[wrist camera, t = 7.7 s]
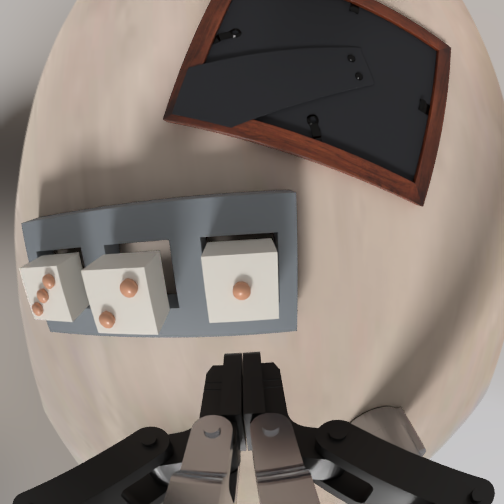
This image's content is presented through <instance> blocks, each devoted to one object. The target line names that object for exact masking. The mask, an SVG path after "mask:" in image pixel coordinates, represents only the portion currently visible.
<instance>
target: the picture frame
mask: <svg viewBox="0 0 504 504" xmlns="http://www.w3.org/2000/svg"><path fill="white" fill-rule="evenodd" d="M450 57H451V47H449V46H448V45H447V44H445V43H444V42H443V41H441V40H440V39H439V38H437V37H436V36H434V35H433V34H431V33H430V32H428V31H427V30H425V29H424V28H422V27H421V26H419V25H418V24H416V23H415V22H413V21H411V20H410V19H408V18H406V17H405V16H403V15H401V14H399V13H398V12H396V11H394V10H392V9H390V8H389V7H387V6H385V5H383V4H381V3H379V2H377V1H375V0H211V1H210V3H209V5H208V7H207V9H206V11H205V13H204V15H203V18H202V20H201V22H200V24H199V26H198V28H197V30H196V33H195V35H194V37H193V40H192V42H191V44H190V47H189V49H188V51H187V54H186V56H185V59H184V61H183V64H182V66H181V69H180V71H179V74H178V77H177V80H176V82H175V85H174V88H173V91H172V93H171V96H170V99H169V102H168V105H167V108H166V111H165V115H164V118H163V120H164V121H166V122H170V123H175V124H180V125H185V126H190V127H194V128H199V129H203V130H207V131H212V132H216V133H220V134H224V135H227V136H231V137H235V138H239V139H242V140H246V141H250V142H253V143H257V144H260V145H263V146H267V147H270V148H273V149H277V150H280V151H283V152H286V153H289V154H292V155H295V156H298V157H301V158H304V159H307V160H310V161H313V162H315V163H318V164H321V165H324V166H326V167H329V168H332V169H335V170H337V171H340V172H342V173H345V174H347V175H350V176H353V177H355V178H357V179H360V180H362V181H365V182H367V183H370V184H372V185H374V186H377V187H379V188H381V189H383V190H386V191H388V192H390V193H392V194H395V195H397V196H399V197H401V198H403V199H405V200H408V201H410V202H412V203H414V204H416V205H419V206H422V207H423V205H424V201H425V198H426V195H427V191H428V187H429V184H430V180H431V176H432V172H433V168H434V164H435V160H436V156H437V151H438V146H439V142H440V136H441V131H442V126H443V120H444V114H445V107H446V100H447V92H448V83H449V72H450Z"/></svg>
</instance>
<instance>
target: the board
mask: <svg viewBox="0 0 504 504" xmlns="http://www.w3.org/2000/svg"><path fill="white" fill-rule="evenodd" d="M21 224H22V230H23V236H24V241H25V246H26V251H27V255H28V260H29V262H31V261H33V260H35V259H36V258H38V257H40V256H42V255H53V254H54V250H57V249H67V248H78V247H81V251H82V256H83V260H84V265H85V267H87V266H88V265H89V264H91V263H92V262H94V261H95V260H96V259H98V258H99V257H101V256H102V255H104V254H118V253H120V250H119V244H122V243H134V242H146V241H158V240H169V243H170V251H171V258H172V265H173V271H174V278H175V284H176V290H177V294H167V297H168V302H169V307H170V311H169V313H168V315H167V317H166V319H165V322H164V324H163V326H162V328H161V330H160V332H159V335H138V334H107V333H98V330H97V327H96V324H95V321H94V317H93V314H92V311H91V307H90V305H89V306H88V307H87V308H86V309H85V310H84V311H83V312H82V313H81V314H80V315H79V316H78V317H77V318H76V319H75V320H74V321H73V322H63V321H49V320H46V321H47V324H48V326H49V329H50V332H59V333H70V334H83V335H98V336H119V337H214V336H236V335H253V334H266V333H279V332H290V331H297V207H296V192H294V191H291V190H272V191H253V192H237V193H223V194H210V195H198V196H187V197H177V198H167V199H158V200H149V201H141V202H133V203H125V204H118V205H111V206H104V207H97V208H91V209H84V210H78V211H72V212H66V213H60V214H55V215H49V216H44V217H39V218H36V219H33V220H30V221H27V222H24V223H21ZM257 233H274V245H275V248H276V250H277V255H278V293H279V319H269V320H255V321H239V322H220V323H209V316H208V309H207V302H206V294H205V286H204V278H203V270H202V262H201V256H202V253H203V251H204V249H205V247H206V237H212V236H226V235H242V234H257Z"/></svg>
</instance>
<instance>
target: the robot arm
mask: <svg viewBox="0 0 504 504" xmlns="http://www.w3.org/2000/svg"><path fill="white" fill-rule="evenodd" d="M246 438H247V445H248V451H250V450H252V453H253V461H254V469H255V476H256V482H257V489H258V495H259V502H260V504H320V501H319V498H318V495H317V492H316V489H315V485H314V483H315V484H317V485H318V486H320V487H321V488H323V489H324V490H326V491H327V492H329V493H331V494H332V495H334V496H336V497H337V498H339V499H341V500H342V501H344V502H346V503H348V504H491V503H492V501H493V499H494V494H495V492H494V487H493V485H492V484H491V483H490V482H489V481H488V480H486V479H483V478H480V477H476V476H473V475H470V474H467V473H464V472H461V471H458V470H455V469H452V468H449V467H447V466H444V465H441V464H439V463H436V462H433V461H431V460H429V459H426V458H424V457H423V455H424V454H425V452H426V449H425V447H424V445H423V443H422V442H421V440H420V438H419V436H418V435H417V433H416V431H415V429H414V428H413V426H412V424H411V422H410V421H409V419H408V417H407V416H406V414H405V412H404V410H403V409H402V407H399V408H393V407H380V408H376V409H373V410H370V411H368V412H366V413H364V414H362V415H361V416H359V417H357V418H356V419H355V420H353V421H352V422H351V423H349V422H347V421H343V420H332V421H329V422H326V423H324V424H323V425H321V426H320V427H319V428H312V427H304V426H301V425H298V424H296V423H295V422H293V421H292V420H291V419H290V418H289V416H288V413H287V407H286V402H285V396H284V391H283V385H282V380H281V374H280V369H279V368H278V367H277V366H276V365H275V364H274V363H273V362H272V363H261V357H260V352H249V353H243V360H242V353H231V354H224V363H223V365H217V366H212V367H211V368H210V370H209V371H208V372H207V374H206V380H205V386H204V393H203V399H202V406H201V412H200V418H199V419H198V420H197V421H196V422H195V423H194V424H193V426H192V428H191V429H189V430H187V431H184V432H180V433H175V434H169V435H168V434H167V433H166V432H165V431H164V430H162V429H160V428H157V427H145V428H142V429H139V430H138V431H136V432H134V433H133V434H131V435H130V436H128V437H126V438H125V439H123V440H122V441H120V442H118V443H117V444H115V445H113V446H112V447H110V448H108V449H107V450H105V451H103V452H101V453H100V454H98V455H96V456H95V457H93V458H91V459H89V460H87V461H86V462H84V463H82V464H80V465H78V466H76V467H75V468H73V469H71V470H69V471H67V472H65V473H63V474H61V475H59V476H57V477H55V478H53V479H51V480H49V481H47V482H45V483H43V484H41V485H38V486H36V487H34V488H32V489H30V490H27V491H25V492H23V493H21V494H19V495H17V496H16V498H15V499H14V501H13V504H161V503H162V502H163V504H236V503H237V493H238V483H239V473H240V451H246Z"/></svg>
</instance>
